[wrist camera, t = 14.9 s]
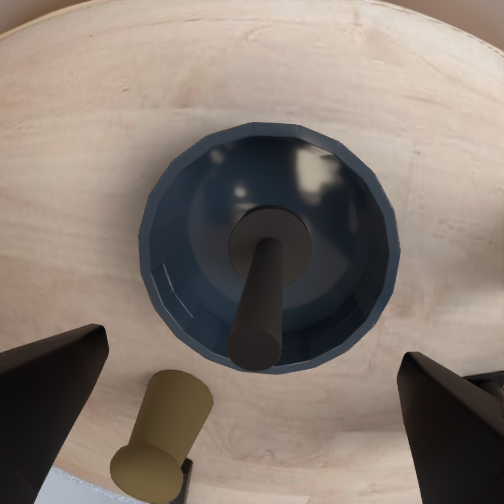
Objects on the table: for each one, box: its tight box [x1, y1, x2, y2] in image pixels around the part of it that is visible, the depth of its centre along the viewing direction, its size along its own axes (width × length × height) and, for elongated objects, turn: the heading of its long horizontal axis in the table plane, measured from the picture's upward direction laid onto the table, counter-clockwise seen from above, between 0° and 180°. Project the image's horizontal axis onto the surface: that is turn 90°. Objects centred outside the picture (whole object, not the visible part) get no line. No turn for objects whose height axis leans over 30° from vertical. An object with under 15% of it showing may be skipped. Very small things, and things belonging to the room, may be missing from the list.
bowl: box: [138, 122, 401, 375], centre depth 19 cm, size 14×14×4 cm
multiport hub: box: [151, 458, 193, 504], centre depth 29 cm, size 4×14×2 cm, turn 168°
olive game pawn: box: [110, 370, 213, 504], centre depth 20 cm, size 6×6×11 cm
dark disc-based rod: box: [226, 205, 312, 371], centre depth 15 cm, size 5×5×12 cm
